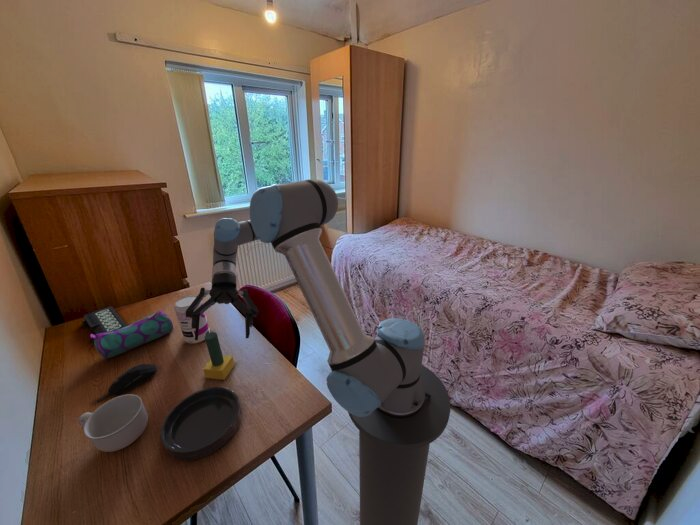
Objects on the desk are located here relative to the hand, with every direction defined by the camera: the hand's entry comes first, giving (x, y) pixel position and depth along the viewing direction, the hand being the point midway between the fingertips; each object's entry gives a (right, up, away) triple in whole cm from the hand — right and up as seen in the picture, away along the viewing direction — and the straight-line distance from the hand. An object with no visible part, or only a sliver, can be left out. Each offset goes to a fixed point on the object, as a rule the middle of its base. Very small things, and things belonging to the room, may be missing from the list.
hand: (223, 337), depth 82 cm
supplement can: (-18, -5, +19) cm, 27 cm away
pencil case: (-36, -7, +16) cm, 40 cm away
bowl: (+1, -19, -12) cm, 22 cm away
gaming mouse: (-28, -14, 0) cm, 31 cm away
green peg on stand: (-3, -11, +4) cm, 13 cm away
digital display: (-56, -3, +25) cm, 62 cm away
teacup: (-19, -20, -14) cm, 31 cm away
